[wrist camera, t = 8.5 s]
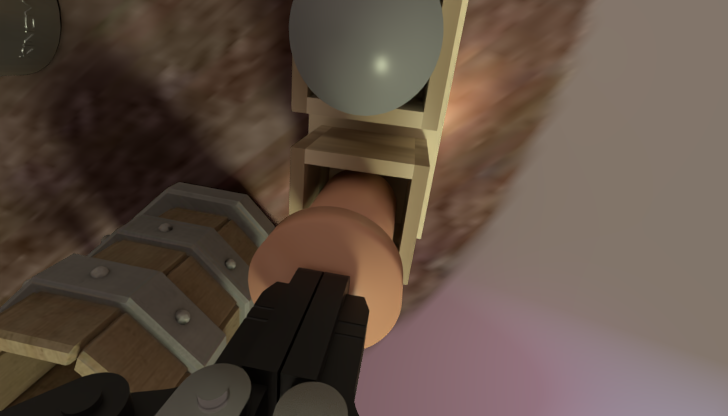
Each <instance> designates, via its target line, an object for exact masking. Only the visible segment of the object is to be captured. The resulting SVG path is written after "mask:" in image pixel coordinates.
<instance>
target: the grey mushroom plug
mask: <svg viewBox="0 0 728 416" xmlns="http://www.w3.org/2000/svg"><path fill="white" fill-rule="evenodd" d="M289 40H290V46H291V51H292V55H293V59H294V62H295V64H296V67H297V69H298V71H299V73H300V75H301V77H302V79H303V80H304V82H305V83H306V84H307V86H308V87H309V88H310V89H311V91H312V92H313V93H314V94H315V95H316V96H317V97H318V98H320V99H321V100H322V101H323V102H325V103H326V104H328V105H329V106H331V107H333V108H335V109H337V110H339V111H342V112H345V113H348V114H353V115H361V116H370V115H378V114H383V113H386V112H389V111H392V110H394V109H396V108H398V107H400V106H402V105H404V104H405V103H406V102H408V101H409V100H411V99H412V98H413V97H414V96H415V95H416V94H417V93H418V92H419V91H420V90H421V89H422V88H423V87H424V85H425V84H426V82H427V81H428V79H429V78H430V76H431V74H432V73H433V71H434V69H435V67H436V64H437V61H438V59H439V56H440V52H441V48H442V42H443V14H442V8H441V4H440V0H293V3H292V7H291V12H290V19H289Z"/></svg>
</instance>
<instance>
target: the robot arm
mask: <svg viewBox="0 0 728 416" xmlns="http://www.w3.org/2000/svg"><path fill="white" fill-rule="evenodd" d="M60 29H61V26H60V14H59V8H58V4H57V0H0V76H11V75H28V74H32V73H35V72H38V71H40V70H41V69H42V68H44V67H45V66H46V65H48V63H49V62H50V61H51V59H52V58H53V56H54V55H55V52H56V50H57V47H58V44H59V38H60ZM349 286H350V276H346V275H341V274H335V273H329V272H325V273H324V272H323V271H317V270H312V269H306V268H301V267H299V268H298V269H297V270H296V272H295V274H294V276H293V277H292V279H291V281H290V283H284V282H278V281H277V282H276V283H274V284H273V285H271V286H270V287H268V288H267V289H265V290H264V291H263V292H262V293H261V295H260V296H259V298H258V299H257V301H256V302H255V304H254V307H252V308H251V310H250V311H249V313H248V314H247V316H246V318H245V319H244V320H243V322H242V323H241V325H240V326H239V328H238V329H237V330H236V332H235V333H234V335H233V336H232V338H231V339H230V341H229V342H228V344H227V345H226V347H225V348H224V350H223V351H222V353H221V354H220V356H219V357H218V359H217V360H216V362H215V363H214V364H213V365H209V366H206V367H203V368H201V369H199V370H197V371H195V372H194V373H192V374H191V375H190V376H188V377H187V378H186V379H185V380H184V381H183V382H182V383H181V384H180V386H179V387H175V388H170V389H162V390H152V391H141V392H130V387H129V383H128V382H127V380H126V379H125V378H124V377H123V376H121V375H119V374H115V373H109V372H102V373H94V374H90V375H86V376H83V377H81V378H78V379H75V380H73V381H71V382H68V383H66V384H64V385H61V386H59V387H56V388H54V389H52V390H49V391H47V392H45V393H42V394H40V395H38V396H35V397H33V398H31V399H28V400H26V401H23V402H21V403H19V404H16V405H14V406H12V407H9V408H7V409H5V410H2V411H0V416H359V415H358V413H357V410H356V407H355V403H354V400H355V395H356V389H357V384H358V378H359V373H360V368H361V362H362V357H363V351H364V345H365V338H366V331H367V324H368V318H369V308H368V305H367V303H366V300H365V297H361V296H356V295H350V294H349Z"/></svg>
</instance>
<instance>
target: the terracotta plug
mask: <svg viewBox="0 0 728 416" xmlns="http://www.w3.org/2000/svg"><path fill="white" fill-rule="evenodd" d="M396 208H397V204H396V197H395V194H394V191H393V189H392V188H391V186H390V185H389V183H388V182H387V181H386V180H385V179H384V178H383V177H381V176H380V175H378V174H373V173H366V172H359V171H352V170H343V171H341V172H339V173H337V174H335V175H334V176H333V177H332V178H330V180H329V181H328V182H327V183H326V185H325V186H324V187H323V189H322V190H321V192H320V193H319V194H318V196H317V197H316V199H315V200H314V201H313V203H312V204H311V206H310V207H309V208H306V209H303V210H299V211H297V212H295V213H293V214H291V215H289V216H288V217H286V218H285V219H284V220H282V221H281V222H280V223H279V224H278V225H277V226H276V227H275V229H274V230H273V231H272V232H271V233H270V235H269V236H268V237H267V238H266V239H265V241H264V242H263V243H262V244H261V245H260V247H259V248H258V249H257V251H256V252H255V254H254V256H253V258H252V261H251V263H250V267H249V272H248V285H249V291H250V295H251V298H252V301H253V303H254V304H255V302H256V301H257V299H258V298H259V296H260V295H261V293H262V292H263V291H264V290H265V289H267V288H268V287H270V286H271V285H273V284H274V283H276V282H277V281H278V282H284V283H290V281H291V279H292V277H293V276H294V274H295V272H296V270H297V269H298V268H299V267H301V268H306V269H312V270H317V271H323V272H324V273H325V272H329V273H335V274H341V275H346V276H350V286H349V294H350V295H356V296H361V297H365V300H366V303H367V305H368V308H369V318H368V324H367V331H366V338H365V345H364V349H365V348H367V347H370V346H372V345H373V344H375V343H377V342H379V341H380V340H381V339H382V338H384V337H385V336H386V335H387V334H388V333H389V332H390V331H391V329H392V328H393V326H394V325H395V323H396V321H397V319H398V317H399V314H400V310H401V304H402V290H403V265H402V260H401V257H400V254H399V252H398V249H397V248H396V246H395V244H394V242H393V241H392V239H393V232H394V224H395V216H396Z"/></svg>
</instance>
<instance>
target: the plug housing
mask: <svg viewBox="0 0 728 416" xmlns="http://www.w3.org/2000/svg"><path fill="white" fill-rule="evenodd" d="M440 4H441V8H442V14H443V42H442V48H441V52H440V56H439V59H438V61H437V64H436V67H435V69H434V71H433V73H432V74H431V76H430V78H429V79H428V81H427V82H426V84H425V85H424V87H423V88H422V89H421V90H420V91H419V92H418V93H417V94H416V95H415V96H414V97H413V98H412V99H411V100H409V101H408V102H406V103H405V104H404V105H402V106H400V107H398V108H396V109H394V110H392V111H389V112H386V113H383V114H378V115H370V116H361V115H353V114H348V113H345V112H342V111H339V110H337V109H335V108H333V107H331V106H329V105H328V104H326V103H325V102H323V101H322V100H321V99H320V98H318V97H317V96H316V95H315V94H314V93H313V92H312V91H311V89H310V88H309V87H308V86H307V84H306V83H305V82H304V80H303V79H302V77H301V75H300V73H299V71H298V69H297V67H296V64H295V62H294V59H293V55H292V100H291V111H292V112H300V113H307V114H309V128H308V135H307V136H305V137H304V138H302V139H301V140H300V141H298V142H297V143H295V144H294V145H293V146H291V147H290V194H289V215H291V214H293V213H295V212H297V211H299V210H303V209H306V208H309V207H310V206H311V204H312V203H313V201H314V200H315V199H316V197H317V196H318V194H319V193H320V192H321V190H322V189H323V187H324V186H325V185H326V183H327V182H328V181H329V180H330V178H332V177H333V176H334V175H335V174H337V173H339V172H341V171H343V170H352V171H359V172H366V173H373V174H378V175H380V176H381V177H383V178H384V179H385V180H386V181H387V182H388V183H389V185H390V186H391V188H392V189H393V191H394V194H395V197H396V204H397V208H396V216H395V224H394V232H393V239H392V241H393V242H394V244H395V246H396V248H397V249H398V252H399V254H400V257H401V260H402V265H403V284H405V285H407V284H408V278H409V273H410V268H411V263H412V258H413V253H414V247H415V242H416V238H418V239H421V235H422V230H423V225H424V220H425V214H426V209H427V204H428V199H429V194H430V189H431V184H432V179H433V174H434V169H435V164H436V159H437V154H438V149H439V144H440V139H441V134H442V129H443V124H444V119H445V114H446V109H447V104H448V99H449V94H450V89H451V84H452V79H453V74H454V69H455V64H456V59H457V54H458V49H459V44H460V39H461V34H462V29H463V24H464V19H465V14H466V9H467V4H468V0H440Z"/></svg>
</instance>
